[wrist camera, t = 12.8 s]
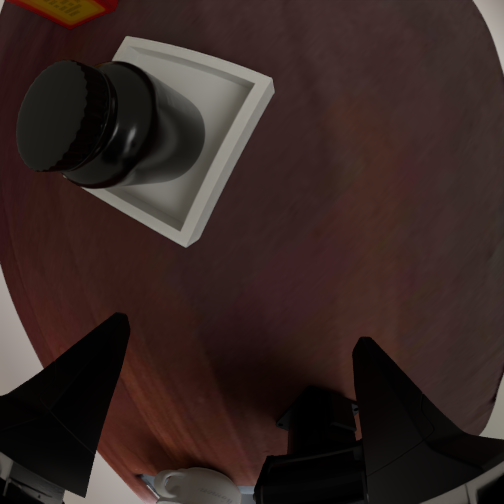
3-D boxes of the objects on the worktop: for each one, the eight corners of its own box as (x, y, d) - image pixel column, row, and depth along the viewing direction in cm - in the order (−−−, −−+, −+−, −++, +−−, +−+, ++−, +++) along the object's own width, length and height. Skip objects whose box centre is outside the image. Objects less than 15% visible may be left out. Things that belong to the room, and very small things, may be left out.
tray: (199, 238, 22) (185, 247, 19) (84, 175, 22) (63, 176, 19) (274, 91, 18) (272, 78, 15) (142, 48, 18) (126, 36, 15)
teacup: (254, 493, 31) (246, 534, 23) (190, 490, 33) (177, 526, 25) (221, 445, 28) (206, 497, 20) (148, 442, 30) (126, 484, 22)
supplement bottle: (125, 107, 19) (11, 72, 7) (205, 89, 18) (119, 8, 6) (129, 189, 20) (5, 206, 9) (210, 178, 20) (112, 179, 8)
